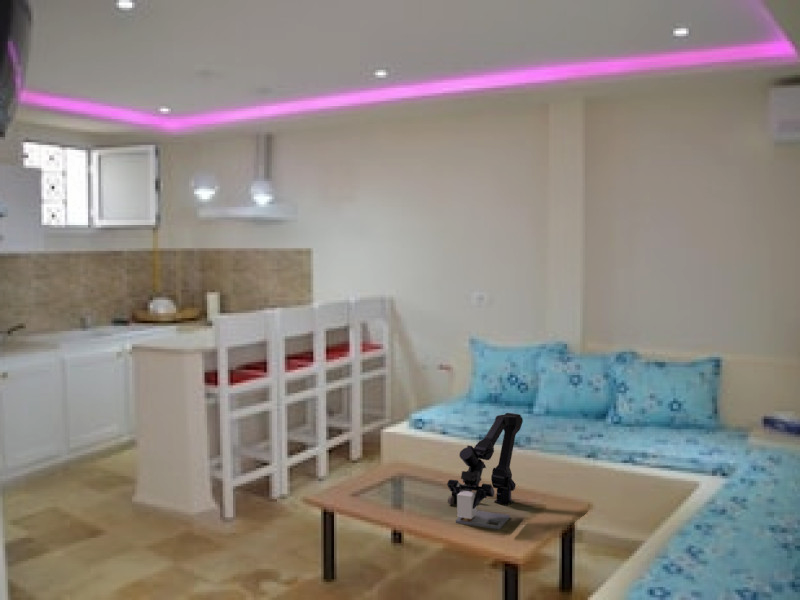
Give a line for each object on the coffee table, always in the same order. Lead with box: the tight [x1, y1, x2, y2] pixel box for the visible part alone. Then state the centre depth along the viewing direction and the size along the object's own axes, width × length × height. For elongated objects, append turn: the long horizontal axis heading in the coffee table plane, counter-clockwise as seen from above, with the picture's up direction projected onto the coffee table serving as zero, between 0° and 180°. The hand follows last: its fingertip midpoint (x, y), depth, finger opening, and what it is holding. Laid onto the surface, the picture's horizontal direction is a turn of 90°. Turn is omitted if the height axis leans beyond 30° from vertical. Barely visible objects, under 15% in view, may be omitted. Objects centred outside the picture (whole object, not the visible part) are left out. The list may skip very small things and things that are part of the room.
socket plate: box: [455, 510, 511, 530], centre depth 286 cm, size 14×18×2 cm
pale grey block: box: [456, 490, 478, 521], centre depth 285 cm, size 6×6×11 cm
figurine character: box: [447, 489, 473, 505], centre depth 308 cm, size 7×8×15 cm
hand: (465, 507), depth 283 cm, fingers closed on pale grey block, 6 cm apart
